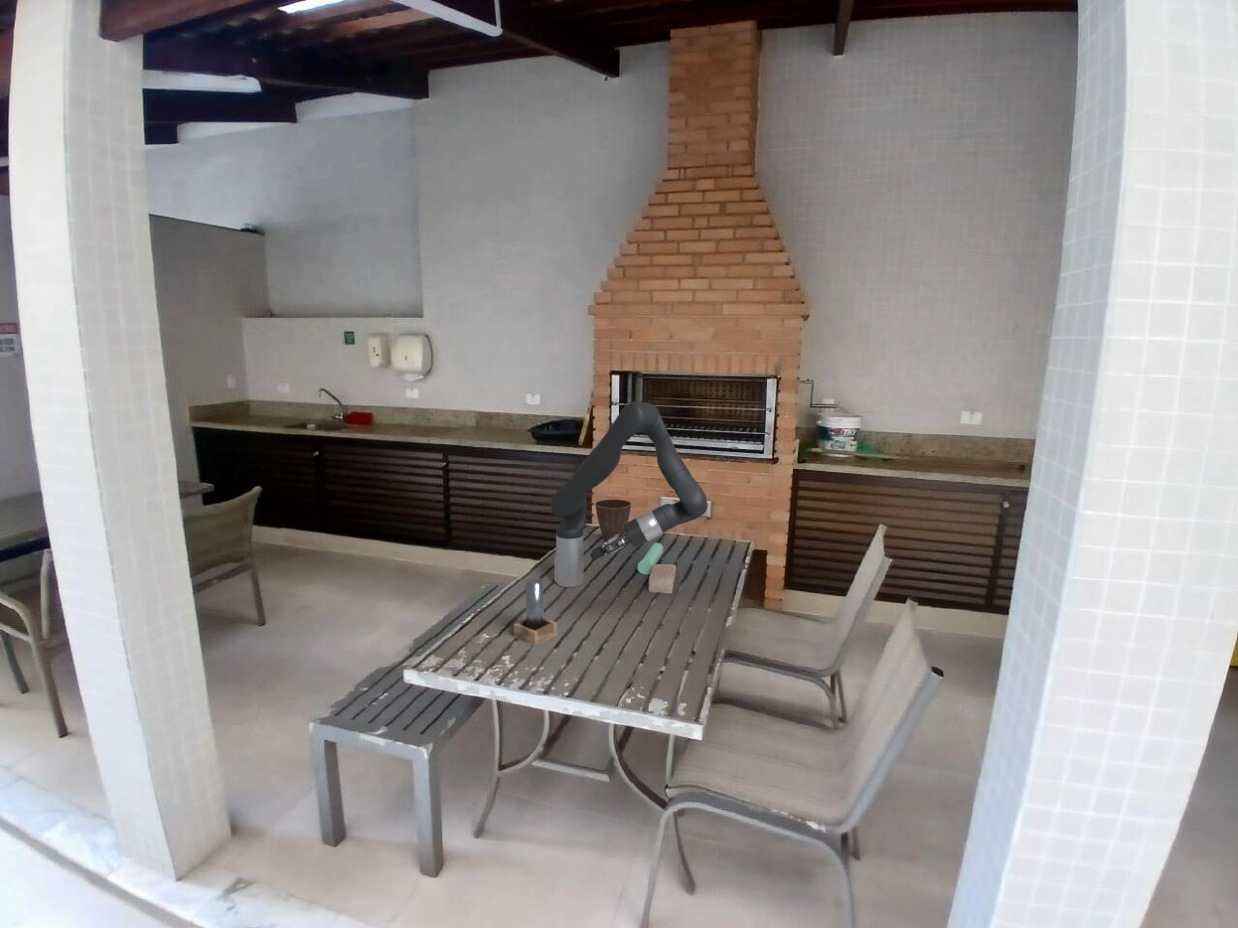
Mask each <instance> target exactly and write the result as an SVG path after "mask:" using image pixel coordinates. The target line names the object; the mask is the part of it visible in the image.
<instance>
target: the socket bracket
mask: <svg viewBox="0 0 1238 928" xmlns="http://www.w3.org/2000/svg"><path fill="white" fill-rule="evenodd" d="M557 629H558V628H557V622H556V621H553V620H551V619H548V618H546V617H544V626H543V627H541V628H539V629H537V630H535V631H534V630H532V629H530V628H527V627H526V618H525V619H522V620H520V621H518V622H516V623H514V624H513V635H512V637H513V638H516V639H518V640H520V641H523V642H525V643H528V644H529V645H532V646H534V647H535V646H538V645H540V644H541V643H544V642H545V641H547V640H549V639H552V638H553V637H555V636H558V635H559V633H557Z"/></svg>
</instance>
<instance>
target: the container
mask: <svg viewBox="0 0 1238 928" xmlns="http://www.w3.org/2000/svg"><path fill="white" fill-rule="evenodd" d="M663 553H664V546H663V544H661V543H660V542H655V543H653V544H652V545H651V547H650V548H649V549H648V550H647V552H646V554H645V555H644V556H643V558H642V559H641V560H640V561H639V562H638V563H637V571H638V573H640V574H641V575H650V574H651V572H652V566H653V564H657V562H658V561H659V559H660V558H661V556H662V555H663Z"/></svg>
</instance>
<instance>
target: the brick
mask: <svg viewBox="0 0 1238 928" xmlns="http://www.w3.org/2000/svg"><path fill="white" fill-rule="evenodd" d="M676 571H677V565H676V564H671V563H666V564H665V563H664V564H663V563H661V564H660V563H658V564H657V563H656V564H653V566H652V572H651V573H650V574H649V578H648V592H649V593H661V594H672V593H673V590H674V583H675V580H676V574H677V572H676Z"/></svg>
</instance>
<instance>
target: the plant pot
mask: <svg viewBox="0 0 1238 928" xmlns="http://www.w3.org/2000/svg"><path fill="white" fill-rule="evenodd" d="M594 504H595V511H596V516H597V517H596V518H597V521H598V526H599V529H600V531H601V534H602V538H603V540H604V541H605V542H606V541H608V540H609V539H610V538H612V537H614V536H615V535H617V534H620V535H621V534H623V533H624V534H625V533H626V532H625V530H624V528H623V525H624V524H625V523H627V522H629V519H630V513H631V507H632V503H631V501H628V500H625V499H605V500H604V499H603V500H598V501H596V502H595V503H594Z"/></svg>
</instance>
